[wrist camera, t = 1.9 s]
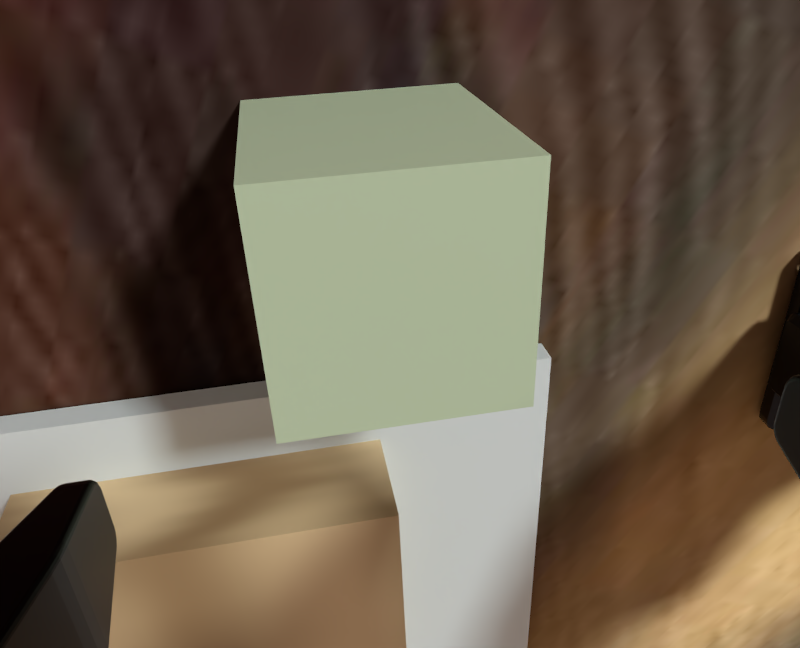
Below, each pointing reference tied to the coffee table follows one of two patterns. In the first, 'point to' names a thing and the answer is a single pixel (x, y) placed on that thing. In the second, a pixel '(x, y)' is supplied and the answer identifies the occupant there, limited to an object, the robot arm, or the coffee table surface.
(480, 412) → the top block
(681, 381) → the coffee table surface
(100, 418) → the white rectangular plate
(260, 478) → the base block
